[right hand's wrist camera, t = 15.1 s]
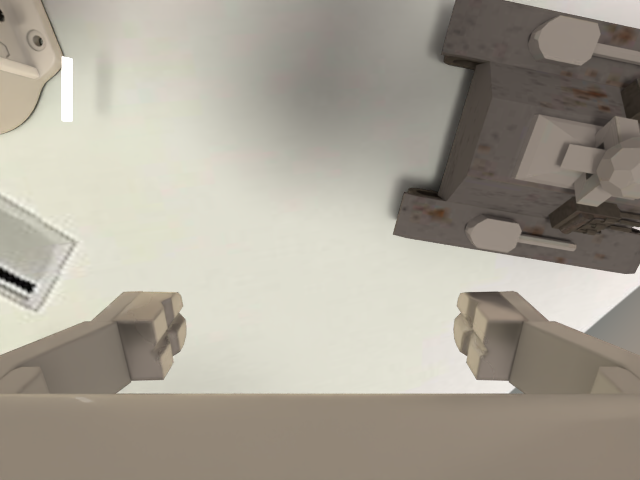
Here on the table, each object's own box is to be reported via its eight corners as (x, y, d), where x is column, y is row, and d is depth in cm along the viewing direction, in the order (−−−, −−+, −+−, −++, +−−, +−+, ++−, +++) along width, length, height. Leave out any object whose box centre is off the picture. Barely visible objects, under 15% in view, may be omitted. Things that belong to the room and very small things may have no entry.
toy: (383, 219, 38) (421, 283, 24) (435, 10, 31) (533, -76, 17) (599, 255, 39) (754, 335, 25) (694, 63, 32) (981, 26, 18)
